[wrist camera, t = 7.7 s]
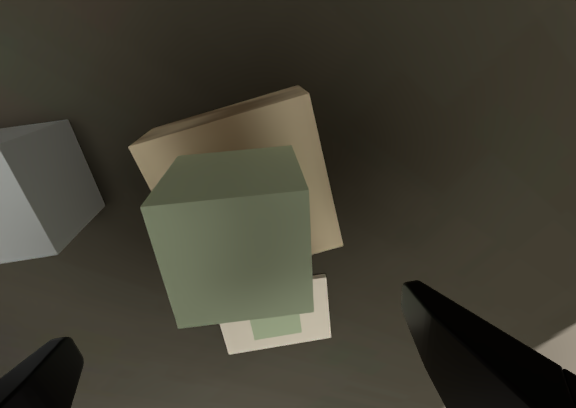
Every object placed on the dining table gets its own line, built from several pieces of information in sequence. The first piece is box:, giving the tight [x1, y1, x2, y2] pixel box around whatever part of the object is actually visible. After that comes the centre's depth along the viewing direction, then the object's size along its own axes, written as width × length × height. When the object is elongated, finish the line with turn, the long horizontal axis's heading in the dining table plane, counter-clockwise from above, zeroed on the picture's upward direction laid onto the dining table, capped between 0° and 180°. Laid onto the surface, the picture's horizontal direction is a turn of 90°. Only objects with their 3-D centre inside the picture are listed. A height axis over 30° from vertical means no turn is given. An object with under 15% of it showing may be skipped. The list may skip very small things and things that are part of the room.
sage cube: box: [140, 145, 314, 329], centre depth 13 cm, size 5×5×5 cm
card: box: [220, 274, 331, 355], centre depth 23 cm, size 8×6×1 cm
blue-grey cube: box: [0, 119, 105, 264], centre depth 15 cm, size 5×5×5 cm
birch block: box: [128, 85, 343, 255], centre depth 17 cm, size 8×8×4 cm
